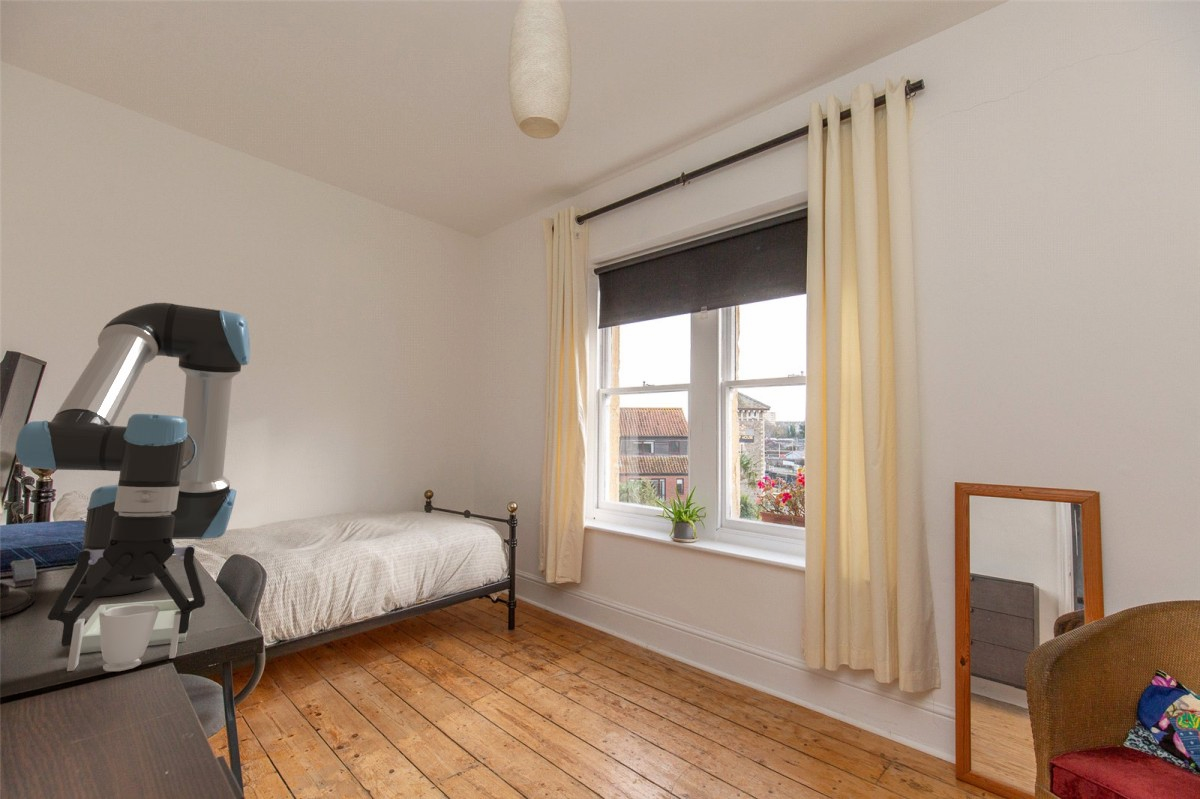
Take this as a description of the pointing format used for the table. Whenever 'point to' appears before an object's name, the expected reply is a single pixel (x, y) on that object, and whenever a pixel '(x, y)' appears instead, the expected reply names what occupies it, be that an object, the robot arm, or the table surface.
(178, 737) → the table surface
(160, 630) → the tray
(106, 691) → the table surface
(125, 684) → the table surface
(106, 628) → the cup
